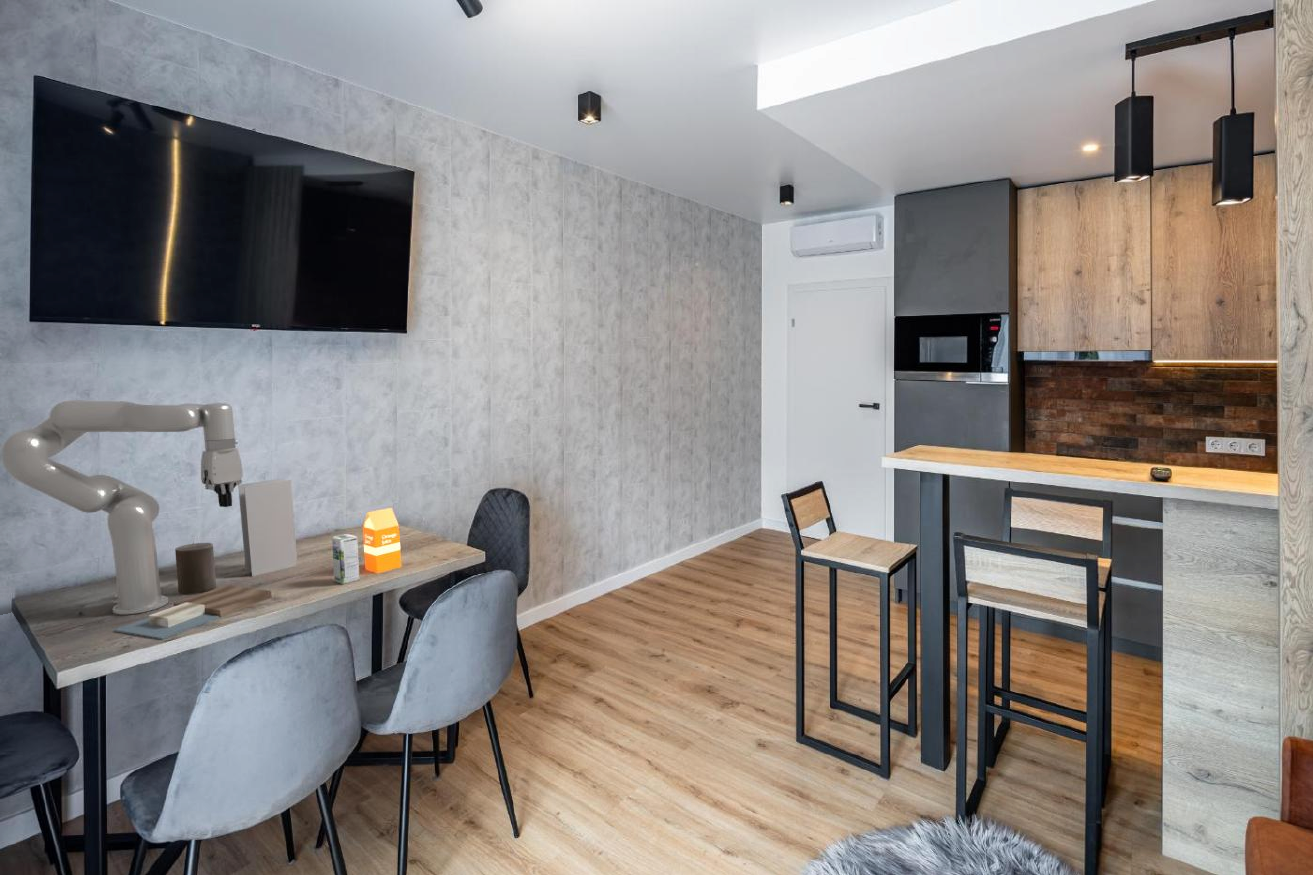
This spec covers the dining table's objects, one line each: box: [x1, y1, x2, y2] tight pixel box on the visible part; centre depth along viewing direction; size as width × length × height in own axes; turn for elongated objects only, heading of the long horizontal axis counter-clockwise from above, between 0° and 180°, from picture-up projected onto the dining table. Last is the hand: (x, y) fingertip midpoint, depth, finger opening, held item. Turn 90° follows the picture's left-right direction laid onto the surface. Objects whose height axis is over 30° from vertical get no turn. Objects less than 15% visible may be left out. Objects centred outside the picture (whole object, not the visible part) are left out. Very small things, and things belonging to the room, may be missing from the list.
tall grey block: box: [237, 478, 298, 577], centre depth 221 cm, size 14×6×30 cm, turn 141°
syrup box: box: [331, 533, 360, 585], centre depth 209 cm, size 6×6×14 cm
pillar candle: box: [174, 542, 217, 595], centre depth 203 cm, size 10×10×15 cm
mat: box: [113, 614, 220, 641], centre depth 176 cm, size 18×15×1 cm
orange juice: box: [362, 507, 402, 574], centre depth 221 cm, size 8×9×20 cm
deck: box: [173, 584, 273, 618], centre depth 191 cm, size 18×16×2 cm
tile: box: [148, 602, 205, 627], centre depth 178 cm, size 7×10×2 cm
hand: (225, 506), depth 196 cm, fingers closed
